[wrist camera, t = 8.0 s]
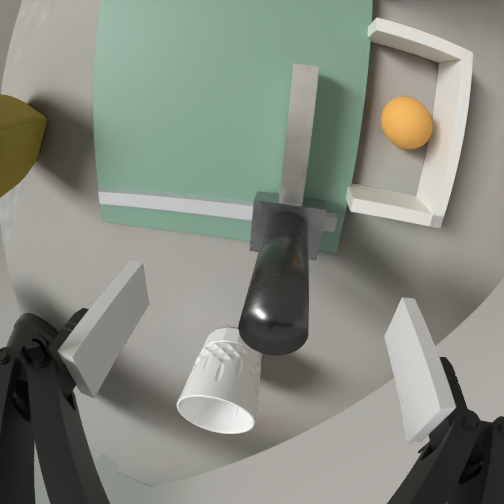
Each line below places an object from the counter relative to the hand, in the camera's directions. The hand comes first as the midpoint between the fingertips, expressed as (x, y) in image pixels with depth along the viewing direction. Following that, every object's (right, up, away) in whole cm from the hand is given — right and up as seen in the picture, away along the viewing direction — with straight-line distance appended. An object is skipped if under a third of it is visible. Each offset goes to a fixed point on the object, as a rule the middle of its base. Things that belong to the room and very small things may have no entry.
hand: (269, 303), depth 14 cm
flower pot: (-26, +16, +10) cm, 32 cm away
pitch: (-4, +15, +7) cm, 17 cm away
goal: (+11, +13, +5) cm, 18 cm away
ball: (+10, +12, +4) cm, 16 cm away
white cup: (-3, -9, +20) cm, 22 cm away
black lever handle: (+2, +9, +6) cm, 12 cm away
